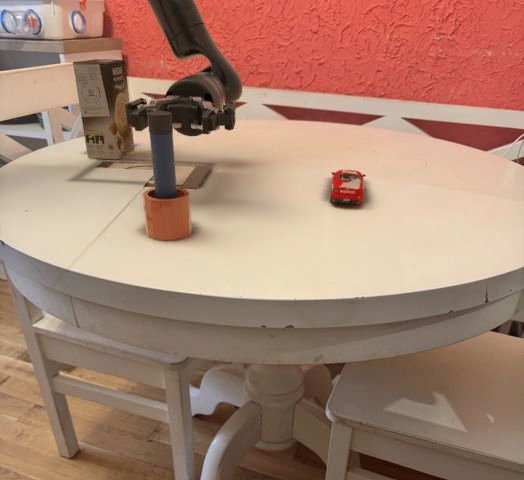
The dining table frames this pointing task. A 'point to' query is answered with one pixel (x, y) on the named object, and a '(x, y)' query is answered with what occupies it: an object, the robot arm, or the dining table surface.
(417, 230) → the dining table surface
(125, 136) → the coffee box
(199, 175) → the sketch board
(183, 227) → the pen pot
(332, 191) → the race car
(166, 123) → the marker
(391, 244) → the dining table surface
